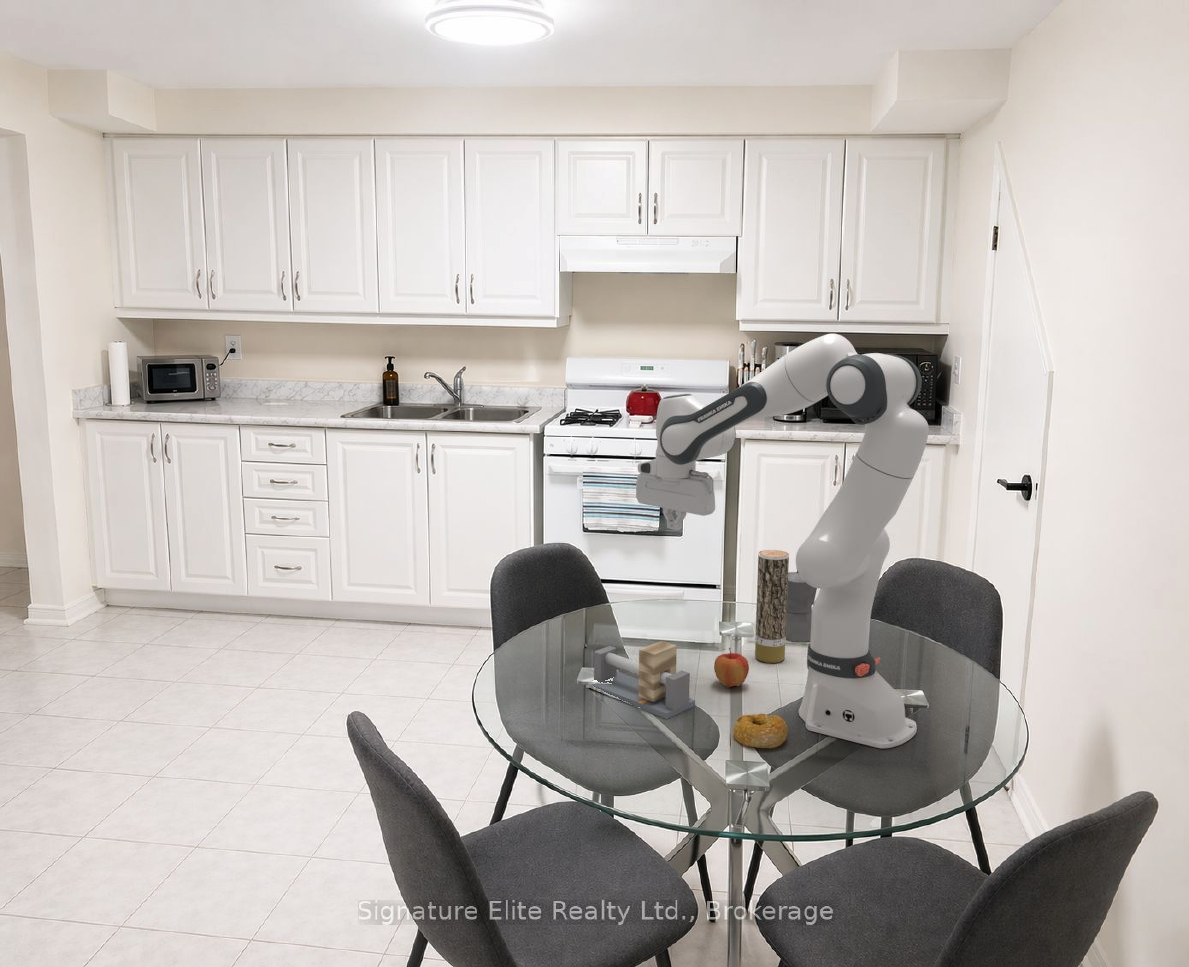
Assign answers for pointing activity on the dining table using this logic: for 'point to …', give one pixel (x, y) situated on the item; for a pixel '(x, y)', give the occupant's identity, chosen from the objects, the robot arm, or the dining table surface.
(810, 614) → the coffeepot
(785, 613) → the brown tall cylinder piece
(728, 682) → the apple
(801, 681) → the dining table surface
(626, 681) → the pipe stand
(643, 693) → the collar
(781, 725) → the bagel
